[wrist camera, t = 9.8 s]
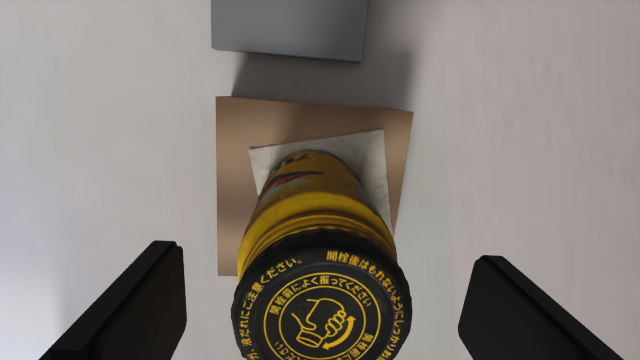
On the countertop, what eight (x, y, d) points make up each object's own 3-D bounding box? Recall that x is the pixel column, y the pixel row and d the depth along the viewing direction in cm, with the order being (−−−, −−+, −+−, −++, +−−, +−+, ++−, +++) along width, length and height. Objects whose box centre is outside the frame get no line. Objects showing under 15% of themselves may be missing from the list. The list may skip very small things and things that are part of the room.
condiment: (248, 149, 19) (167, 235, 7) (382, 129, 19) (510, 181, 7) (270, 253, 21) (233, 448, 9) (391, 233, 21) (502, 402, 10)
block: (230, 96, 22) (215, 96, 18) (394, 109, 23) (413, 112, 19) (230, 247, 25) (217, 275, 21) (374, 253, 26) (386, 280, 22)
